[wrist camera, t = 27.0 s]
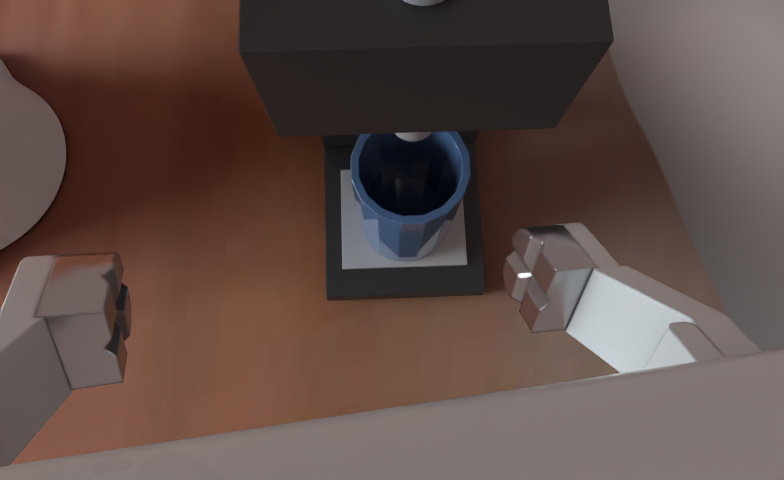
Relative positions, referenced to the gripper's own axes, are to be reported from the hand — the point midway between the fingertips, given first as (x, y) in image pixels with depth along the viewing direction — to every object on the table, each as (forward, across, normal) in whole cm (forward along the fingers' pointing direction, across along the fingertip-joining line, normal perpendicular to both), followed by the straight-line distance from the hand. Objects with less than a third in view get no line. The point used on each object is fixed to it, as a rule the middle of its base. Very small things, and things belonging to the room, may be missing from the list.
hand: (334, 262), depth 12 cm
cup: (+21, -10, +15) cm, 27 cm away
